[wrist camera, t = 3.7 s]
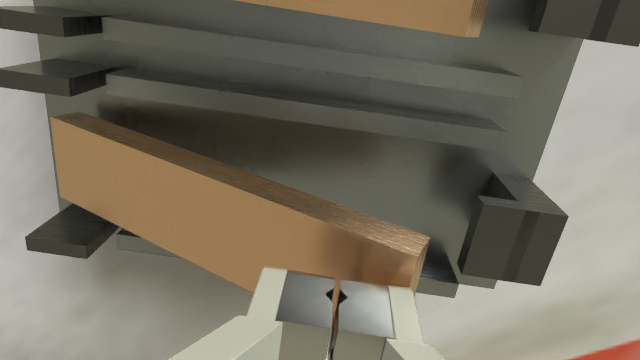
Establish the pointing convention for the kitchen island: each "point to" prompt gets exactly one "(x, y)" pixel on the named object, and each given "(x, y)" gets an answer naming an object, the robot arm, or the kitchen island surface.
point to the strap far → (224, 211)
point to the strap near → (399, 12)
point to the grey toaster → (333, 112)
